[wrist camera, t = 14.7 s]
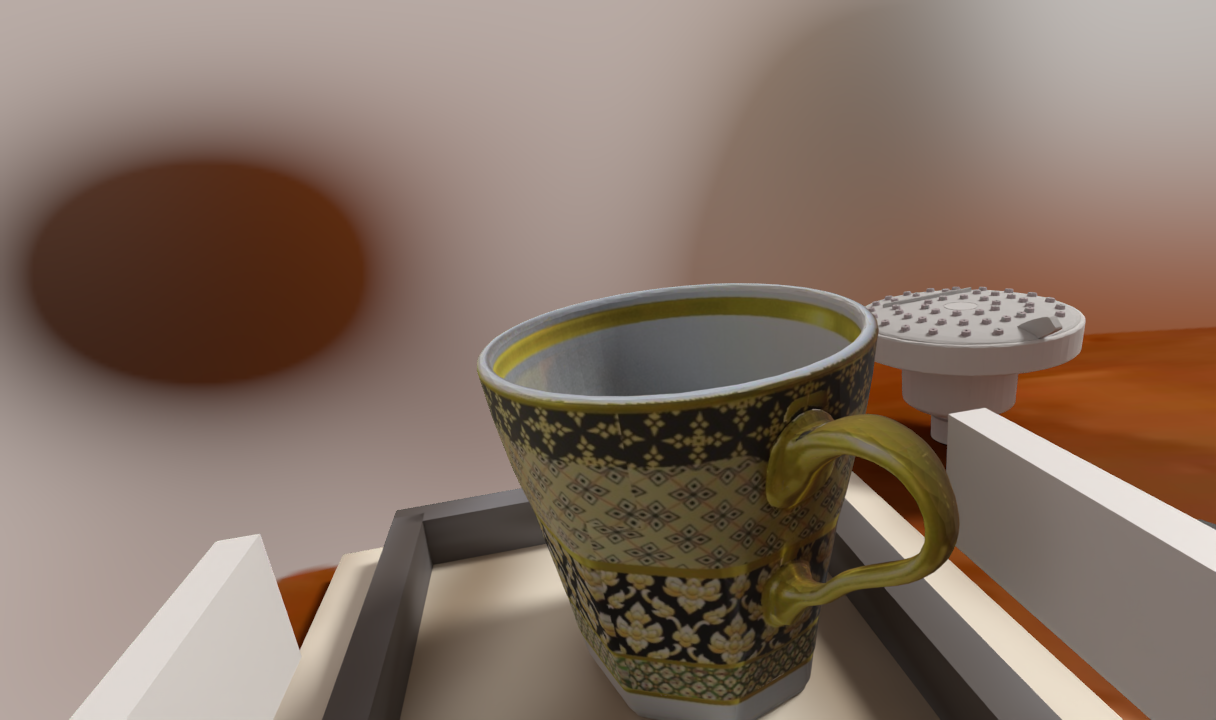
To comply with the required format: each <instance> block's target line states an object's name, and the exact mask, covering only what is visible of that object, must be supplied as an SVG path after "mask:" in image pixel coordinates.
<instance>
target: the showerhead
mask: <svg viewBox="0 0 1216 720" xmlns="http://www.w3.org/2000/svg"><path fill="white" fill-rule="evenodd" d="M865 307H866V308H867V309H868V310H869V311H870V312H871V313H872V314H873V315H874V316H875V318H876V320H877V323H878V329H879V333H878V340H877V347H876V354H875V361H876V362H878V363H881V364H884V365H888V366H891V367H895V368H899V369H902V394H903V398H904V400H905V401H906V402H907V403H908V404H909V405H910V406H912V407H914V408H916V409H917V410H919V411H921V412H924V413H927V414H930V415H931V437H932V438H933V439H934V440H936V441H938V442H940V443H943V444H947V437H948V414H952V413H958V412H963V411H969V410H975V409H981V408H987V409H988V410H990V411H992V412H994V413H996V414H1001V413H1003V412H1005V411H1007V410H1009V409H1010V408H1011V407H1012V406H1013V405H1014V403H1015V399H1016V389H1017V380H1018V374H1020V373H1027V372H1033V371H1038V370H1043V369H1048V368H1051V367H1054V366H1058V365H1060V364H1063V363H1065V362H1068V361H1070V360H1071V359H1073V358H1074V357H1075V356H1077V355H1078V354H1079V353H1080V351H1081V348H1082V341H1083V334H1084V327H1085V317H1084V316H1083V314H1082V313H1081V312H1080V311H1079V310H1077V309H1075V308H1074V307H1072V306H1069V305H1067V304H1064V303H1061V302H1059V301H1055V298H1051V297H1047V298H1045V297H1040V296H1037V293H1033V292H1028V294H1022V293H1014V292H1013V289H1005V291H990V290H987V287H979V289H978V290H971V288H965V289H960V287H952V290H949V289H942V291H934V288H929V289H927V292H922V293H913V294H911V292H910V291H908V292H904V295H900V296H896V297H892V296H886V297H885V299H883V300H880V301H875V302H873V303H872V304H869V305H867V306H865Z"/></svg>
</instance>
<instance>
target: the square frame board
mask: <svg viewBox="0 0 1216 720" xmlns="http://www.w3.org/2000/svg"><path fill="white" fill-rule="evenodd" d="M924 540H925V537H923V536H922V535H921V534H920V533H919V532H918V531H917V530H916V529H915V528H914V527H913V526H912V525H910V524H909V523H908V522H907V521H906V520H905V519H904V518H903V517H902V516H901V515H900V514H898V513H897V512H896V511H895V510H894V509H893V508H892V507H891V506H890V505H889V504H888V503H886V502H885V501H884V500H883V499H882V498H881V497H880V496H879V495H878V494H877V493H876V492H874V491H873V490H872V489H871V488H870V487H869V486H868V485H867V484H866V483H865V482H864V481H863V480H861V479H860V478H859V477H858V476H857V475H856V474H855V473H854V472H853V471H852V472H851V476H850V480H849V484H848V489H847V493H846V496H845V499H844V502H843V505H842V508H841V512H840V515H839V518H838V523H837V529H836V534H835V539H834V544H833V549H832V554H831V559H830V564H829V570H828V575H827V580H826V582H827V581H829V580H830V579H832V578H833V577H835V576H836V575H838V574H840V573H842V572H844V571H847V570H849V569H853V568H857V567H861V566H865V565H871V564H877V563H884V562H890V561H896V560H903V559H907V558H911V557H913V556H915V555H917V554H919V553H920V551H921V548H922V546H923V544H924ZM300 653H301V656H302V657H301V660H300V662H299V664H298V666H297V668H296V671H295V673H294V675H293V677H292V679H291V681H290V684H289V686H288V688H287V690H286V692H285V695H284V697H283V699H282V701H281V703H280V706H279V708H278V710H277V712H276V714H275V717H274V719H273V720H657V719H651V718H645V717H641V716H639V715H637V714H636V713H635V712H634V711H633V710H632V709H630V707H629V706H628V705H627V703H626V702H625V701H624V699H623V698H622V697H621V695H620V694H619V693H618V691H617V690H616V688H615V687H614V686H613V684H612V683H611V682H610V680H609V679H608V678H607V676H606V675H605V673H604V672H603V671H602V669H601V668H600V667H599V665H598V664H597V663H596V661H595V660H594V658H593V657H592V656H591V654H590V653H589V650H588V648H587V645H586V643H585V641H584V638H583V636H582V633H581V631H580V629H579V627H578V624H577V621H576V619H575V616H574V613H573V610H572V607H571V604H570V602H569V599H568V596H567V595H566V592H565V590H564V587H563V585H562V582H561V579H560V577H559V574H558V572H557V569H556V567H555V564H554V562H553V559H552V557H551V554H550V552H549V549H548V547H547V544H546V542H545V539H544V536H543V534H542V531H541V528H540V525H539V523H538V520H537V517H536V514H535V512H534V510H533V508H532V506H531V504H530V503H529V501H528V499H527V497H526V495H525V493H524V491H523V489H522V488H521V489H515V490H510V491H504V492H498V493H492V494H487V495H481V496H475V497H470V498H464V499H459V500H454V501H448V502H442V503H437V504H432V505H425V506H420V507H414V508H408V509H403V510H397V511H396V513H395V516H394V519H393V522H392V525H391V527H390V530H389V533H388V536H387V539H386V541H385V544H384V547H382V548H377V549H372V550H366V551H361V552H355V553H350V554H344V555H343V556H342V558H341V561H340V563H339V565H338V567H337V569H336V572H335V574H334V576H333V578H332V580H331V583H330V585H329V587H328V589H327V591H326V594H325V596H324V598H323V600H322V602H321V605H320V607H319V609H318V611H317V613H316V616H315V618H314V620H313V622H312V624H311V627H310V629H309V631H308V633H307V636H306V638H305V640H304V642H303V644H302V647H301V649H300ZM756 720H1123V719H1122V718H1121V717H1120V716H1118V715H1117V714H1116V713H1115V712H1114V711H1113V710H1112V709H1111V708H1110V707H1109V706H1108V705H1106V704H1105V703H1104V702H1103V701H1102V700H1101V699H1100V698H1099V697H1098V696H1097V695H1096V694H1095V693H1093V692H1092V691H1091V690H1090V689H1089V688H1088V687H1087V686H1086V685H1085V684H1084V683H1083V682H1081V681H1080V680H1079V679H1078V678H1077V677H1076V676H1075V675H1074V674H1073V673H1072V672H1071V671H1069V670H1068V669H1067V668H1066V667H1065V666H1064V665H1063V664H1062V663H1061V662H1060V661H1059V660H1057V659H1056V658H1055V657H1054V656H1053V655H1052V654H1051V653H1050V652H1049V651H1048V650H1047V649H1045V648H1044V647H1043V646H1042V645H1041V644H1040V643H1039V642H1038V641H1037V640H1036V639H1035V638H1034V637H1032V636H1031V635H1030V634H1029V633H1028V632H1027V631H1026V630H1025V629H1024V628H1023V627H1022V626H1020V625H1019V624H1018V623H1017V622H1016V621H1015V620H1014V619H1013V618H1012V617H1011V616H1010V615H1008V614H1007V613H1006V612H1005V611H1004V610H1003V609H1002V608H1001V607H1000V606H999V605H998V604H996V603H995V602H994V601H993V600H992V599H991V598H990V597H989V596H988V595H987V594H986V593H984V592H983V591H982V590H981V589H980V588H979V587H978V586H977V585H976V584H975V583H974V582H973V581H971V580H970V579H969V578H968V577H967V576H966V575H965V574H964V573H963V572H962V571H961V570H959V569H958V568H957V567H956V566H955V565H954V564H953V563H952V562H951V561H950V560H949V559H948V560H947V561H946V562H945V563H944V564H943V565H942V566H941V567H940V568H939V569H938V570H936V571H935V572H934V573H932V574H930V575H929V576H927V577H925V578H923V579H920V580H918V581H915V582H912V583H909V584H904V585H898V586H890V587H879V588H868V589H861V590H856V591H853V592H850V593H848V594H846V595H844V596H842V597H840V598H839V599H837V600H835V601H833V602H831V603H828V604H824V605H822V606H821V611H820V617H819V624H818V631H817V638H816V645H815V649H814V654H813V662H812V669H811V677H810V679H809V681H808V683H807V684H806V686H805V688H804V690H803V691H801V692H800V693H798V694H796V695H795V696H793V697H792V698H790V699H788V700H787V701H785V702H783V703H782V704H780V705H779V706H777V707H775V708H774V709H772V710H771V711H769V712H767V713H766V714H764V715H763V716H761V717H759V718H758V719H756Z"/></svg>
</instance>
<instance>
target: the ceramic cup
mask: <svg viewBox="0 0 1216 720" xmlns="http://www.w3.org/2000/svg"><path fill="white" fill-rule="evenodd" d="M878 333H879V329H878V323H877V320H876V318H875V316H874V315H873V314H872V313H871V312H870V311H869V310H868V309H867V308H866V307H864V306H863V305H861V304H859V303H857V302H855V301H853V300H851V299H848V298H846V297H843V296H840V295H837V294H834V293H830V292H825V291H821V290H816V289H810V288H804V287H796V286H786V285H773V284H736V283H732V284H705V285H690V286H680V287H670V288H661V289H653V290H645V291H637V292H632V293H626V294H620V295H615V296H610V297H606V298H601V299H596V300H591V301H587V302H583V303H579V304H575V305H571V306H568V307H564V308H561V309H558V310H555V311H552V312H549V313H546V314H543V315H540V316H537V317H535V318H532V319H530V320H527V321H525V322H523V323H521V324H519V325H517V326H515V327H513V328H511V329H509V330H507V331H505V332H504V333H502V334H501V335H499V336H498V337H496V338H494V340H492V341H491V342H490V343H489V344H488V345H487V346H486V347H485V348H484V349H483V351H482V352H481V354H480V356H479V358H478V361H477V372H478V375H479V378H480V381H481V384H482V387H483V391H484V394H485V397H486V400H487V403H488V406H489V409H490V412H491V415H492V418H493V420H494V423H495V425H496V428H497V431H498V433H499V436H500V438H501V441H502V443H503V446H504V448H505V451H506V453H507V456H508V458H509V461H510V463H511V466H512V468H513V471H514V473H515V475H516V477H517V479H518V481H519V483H520V485H521V487H522V489H523V491H524V493H525V495H526V497H527V499H528V501H529V503H530V504H531V506H532V508H533V510H534V512H535V514H536V517H537V520H538V523H539V525H540V528H541V531H542V534H543V536H544V539H545V542H546V544H547V547H548V549H549V552H550V554H551V557H552V559H553V562H554V564H555V567H556V569H557V572H558V574H559V577H560V579H561V582H562V585H563V587H564V590H565V592H566V595H567V596H568V599H569V602H570V604H571V607H572V610H573V613H574V616H575V619H576V621H577V624H578V627H579V629H580V631H581V633H582V636H583V638H584V641H585V643H586V645H587V648H588V650H589V653H590V654H591V656H592V657H593V658H594V660H595V661H596V663H597V664H598V665H599V667H600V668H601V669H602V671H603V672H604V673H605V675H606V676H607V678H608V679H609V680H610V682H611V683H612V684H613V686H614V687H615V688H616V690H617V691H618V693H619V694H620V695H621V697H622V698H623V699H624V701H625V702H626V703H627V705H628V706H629V707H630V709H632V710H633V711H634V712H635V713H636V714H637V715H639V716H641V717H645V718H651V719H657V720H756V719H758V718H759V717H761V716H763V715H764V714H766V713H767V712H769V711H771V710H772V709H774V708H775V707H777V706H779V705H780V704H782V703H783V702H785V701H787V700H788V699H790V698H792V697H793V696H795V695H796V694H798V693H800V692H801V691H803V690H804V688H805V686H806V684H807V683H808V681H809V679H810V677H811V669H812V662H813V654H814V649H815V645H816V638H817V631H818V624H819V617H820V611H821V606H822V605H824V604H828V603H831V602H833V601H835V600H837V599H839V598H840V597H842V596H844V595H846V594H848V593H850V592H853V591H856V590H861V589H868V588H879V587H890V586H898V585H904V584H909V583H912V582H915V581H918V580H920V579H923V578H925V577H927V576H929V575H930V574H932V573H934V572H935V571H936V570H938V569H939V568H940V567H941V566H942V565H943V564H944V563H945V562H946V561H947V560H948V558H949V557H950V555H951V553H952V551H953V549H954V547H955V545H956V543H957V539H958V535H959V526H960V521H959V512H958V507H957V502H956V497H955V494H954V491H953V489H952V486H951V483H950V480H949V477H948V475H947V473H946V471H945V468H944V466H943V464H942V462H941V461H940V459H939V458H938V456H937V455H936V453H935V452H934V451H933V449H932V448H931V447H930V446H929V445H928V444H927V443H926V442H925V441H924V440H923V439H922V438H921V437H919V436H918V435H917V434H916V433H915V432H913V431H912V430H911V429H909V428H907V427H906V426H904V425H902V424H900V423H899V422H897V421H895V420H893V419H890V418H888V417H885V416H880V415H874V414H865V413H866V408H867V403H868V398H869V392H870V386H871V381H872V375H873V368H874V361H875V354H876V347H877V340H878ZM855 456H857V457H860V458H863V459H866V460H869V461H871V462H874V463H876V464H878V465H879V466H881V467H883V468H885V469H886V470H888V471H889V472H890V473H892V474H893V475H894V476H896V477H897V478H898V479H899V480H900V481H901V482H902V483H903V484H904V486H905V487H906V488H907V490H908V491H909V492H910V493H911V495H912V496H913V497H914V499H915V501H916V502H917V504H918V506H919V509H920V511H921V513H922V516H923V519H924V526H925V540H924V544H923V546H922V548H921V551H920V553H919V554H917V555H915V556H913V557H911V558H907V559H903V560H896V561H890V562H884V563H877V564H871V565H865V566H861V567H857V568H853V569H849V570H847V571H844V572H842V573H840V574H838V575H836V576H835V577H833V578H832V579H830V580H829V581H827V582H826V580H827V575H828V570H829V564H830V559H831V554H832V549H833V544H834V539H835V534H836V529H837V523H838V518H839V515H840V512H841V508H842V505H843V502H844V499H845V496H846V493H847V489H848V484H849V480H850V476H851V472H852V468H853V464H854V460H855Z"/></svg>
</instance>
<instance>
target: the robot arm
mask: <svg viewBox="0 0 1216 720" xmlns="http://www.w3.org/2000/svg"><path fill="white" fill-rule="evenodd" d="M946 473H947V475H948V477H949V480H950V483H951V486H952V489H953V491H954V494H955V497H956V502H957V507H958V512H959V521H960V526H959V535H958V539H957V543H956V545H955V546H956V547H957V548H959V549H960V550H961V551H962V552H963V553H964V554H965V555H966V556H968V557H969V558H970V559H971V560H972V561H973V562H974V563H975V564H977V565H978V566H979V567H980V568H981V569H982V570H983V571H984V572H986V573H987V574H988V575H989V576H990V577H991V578H992V579H993V580H995V581H996V582H997V583H998V584H999V585H1000V586H1001V587H1002V588H1004V589H1005V590H1006V591H1007V592H1008V593H1009V594H1010V595H1011V596H1013V597H1014V598H1015V599H1016V600H1017V601H1018V602H1019V603H1020V604H1022V605H1023V606H1024V607H1025V608H1026V609H1027V610H1028V611H1029V612H1031V613H1032V614H1033V615H1034V616H1035V617H1036V618H1037V619H1038V620H1040V621H1041V622H1042V623H1043V624H1044V625H1045V626H1046V627H1048V628H1049V629H1050V630H1051V631H1052V632H1053V633H1054V634H1055V635H1057V636H1058V637H1059V638H1060V639H1061V640H1062V641H1063V642H1064V643H1066V644H1067V645H1068V646H1069V647H1070V648H1071V649H1072V650H1073V651H1075V652H1076V653H1077V654H1078V655H1079V656H1080V657H1081V658H1082V659H1084V660H1085V661H1086V662H1087V663H1088V664H1089V665H1090V666H1091V667H1093V668H1094V669H1095V670H1096V671H1097V672H1098V673H1099V674H1100V675H1102V676H1103V677H1104V678H1105V679H1106V680H1107V681H1108V682H1109V683H1111V684H1112V685H1113V686H1114V687H1115V688H1116V689H1117V690H1118V691H1120V692H1121V693H1122V694H1123V695H1124V696H1125V697H1126V698H1127V699H1129V700H1130V701H1131V702H1132V703H1133V704H1134V705H1135V706H1136V707H1138V708H1139V709H1140V710H1141V711H1142V712H1143V713H1144V714H1145V715H1147V716H1148V717H1149V718H1150V719H1151V720H1216V525H1215V524H1212V523H1209V522H1206V521H1203V520H1196V519H1194V518H1192V517H1190V516H1188V515H1187V514H1185V513H1183V512H1181V511H1179V510H1177V509H1175V508H1173V507H1171V506H1170V505H1168V504H1166V503H1164V502H1162V501H1160V500H1158V499H1156V498H1155V497H1153V496H1151V495H1149V494H1147V493H1145V492H1143V491H1141V490H1139V489H1138V488H1136V487H1134V486H1132V485H1130V484H1128V483H1126V482H1124V481H1122V480H1121V479H1119V478H1117V477H1115V476H1113V475H1111V474H1109V473H1107V472H1105V471H1104V470H1102V469H1100V468H1098V467H1096V466H1094V465H1092V464H1090V463H1088V462H1087V461H1085V460H1083V459H1081V458H1079V457H1077V456H1075V455H1073V454H1071V453H1070V452H1068V451H1066V450H1064V449H1062V448H1060V447H1058V446H1056V445H1054V444H1053V443H1051V442H1049V441H1047V440H1045V439H1043V438H1041V437H1039V436H1037V435H1036V434H1034V433H1032V432H1030V431H1028V430H1026V429H1024V428H1022V427H1020V426H1019V425H1017V424H1015V423H1013V422H1011V421H1009V420H1007V419H1005V418H1004V417H1002V416H1000V415H998V414H996V413H994V412H992V411H990V410H988V409H987V408H981V409H975V410H969V411H963V412H958V413H952V414H948V437H947V464H946ZM301 657H302V656H301V653H300V650H299V647H298V644H297V641H296V638H295V635H294V632H293V630H292V627H291V624H290V621H289V618H288V615H287V612H286V609H285V606H284V603H283V600H282V597H281V594H280V591H279V588H278V585H277V582H276V579H275V577H274V574H273V571H272V568H271V565H270V562H269V559H268V556H267V553H266V550H265V547H264V544H263V541H262V538H261V535H260V534H256V535H250V536H244V537H239V538H233V539H227V540H221V541H216V542H215V543H214V545H213V546H212V547H211V548H210V549H209V551H208V552H207V553H206V554H205V556H204V557H203V558H202V559H201V560H200V561H199V563H198V564H197V565H196V566H195V568H194V569H193V570H192V571H191V572H190V574H189V575H188V576H187V577H186V578H185V580H184V581H183V582H182V583H181V585H180V586H179V587H178V588H177V589H176V591H175V592H174V593H173V594H172V595H171V597H170V598H169V599H168V600H167V602H166V603H165V604H164V605H163V606H162V608H161V609H160V610H159V611H158V612H157V614H156V615H155V616H154V617H153V619H152V620H151V621H150V622H149V624H148V625H147V626H146V627H145V629H144V630H143V631H142V632H141V633H140V634H139V635H138V637H137V638H136V639H135V640H134V642H133V643H132V644H131V645H130V646H129V648H128V649H127V650H126V651H125V653H124V654H123V655H122V656H121V657H120V659H119V660H118V661H117V662H116V663H115V665H114V666H113V667H112V668H111V669H110V671H109V672H108V673H107V674H106V675H105V677H104V678H103V679H102V681H101V682H100V683H99V684H98V685H97V686H96V688H95V689H94V690H93V691H92V692H91V694H90V695H89V696H88V697H87V699H86V700H85V701H84V702H83V704H82V705H81V706H80V707H79V708H78V710H77V711H76V712H75V713H74V714H73V716H72V717H71V718H70V719H69V720H273V719H274V717H275V714H276V712H277V710H278V708H279V706H280V703H281V701H282V699H283V697H284V695H285V692H286V690H287V688H288V686H289V684H290V681H291V679H292V677H293V675H294V673H295V671H296V668H297V666H298V664H299V662H300V660H301Z"/></svg>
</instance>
